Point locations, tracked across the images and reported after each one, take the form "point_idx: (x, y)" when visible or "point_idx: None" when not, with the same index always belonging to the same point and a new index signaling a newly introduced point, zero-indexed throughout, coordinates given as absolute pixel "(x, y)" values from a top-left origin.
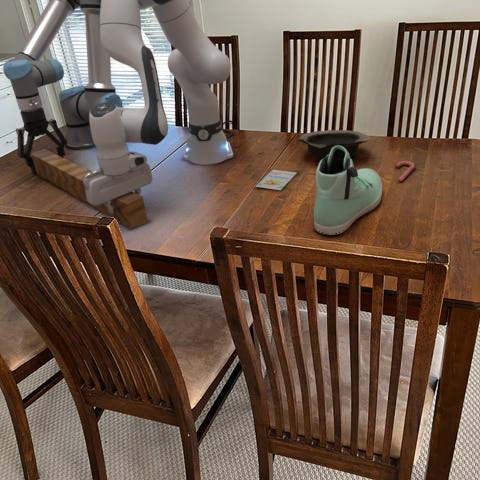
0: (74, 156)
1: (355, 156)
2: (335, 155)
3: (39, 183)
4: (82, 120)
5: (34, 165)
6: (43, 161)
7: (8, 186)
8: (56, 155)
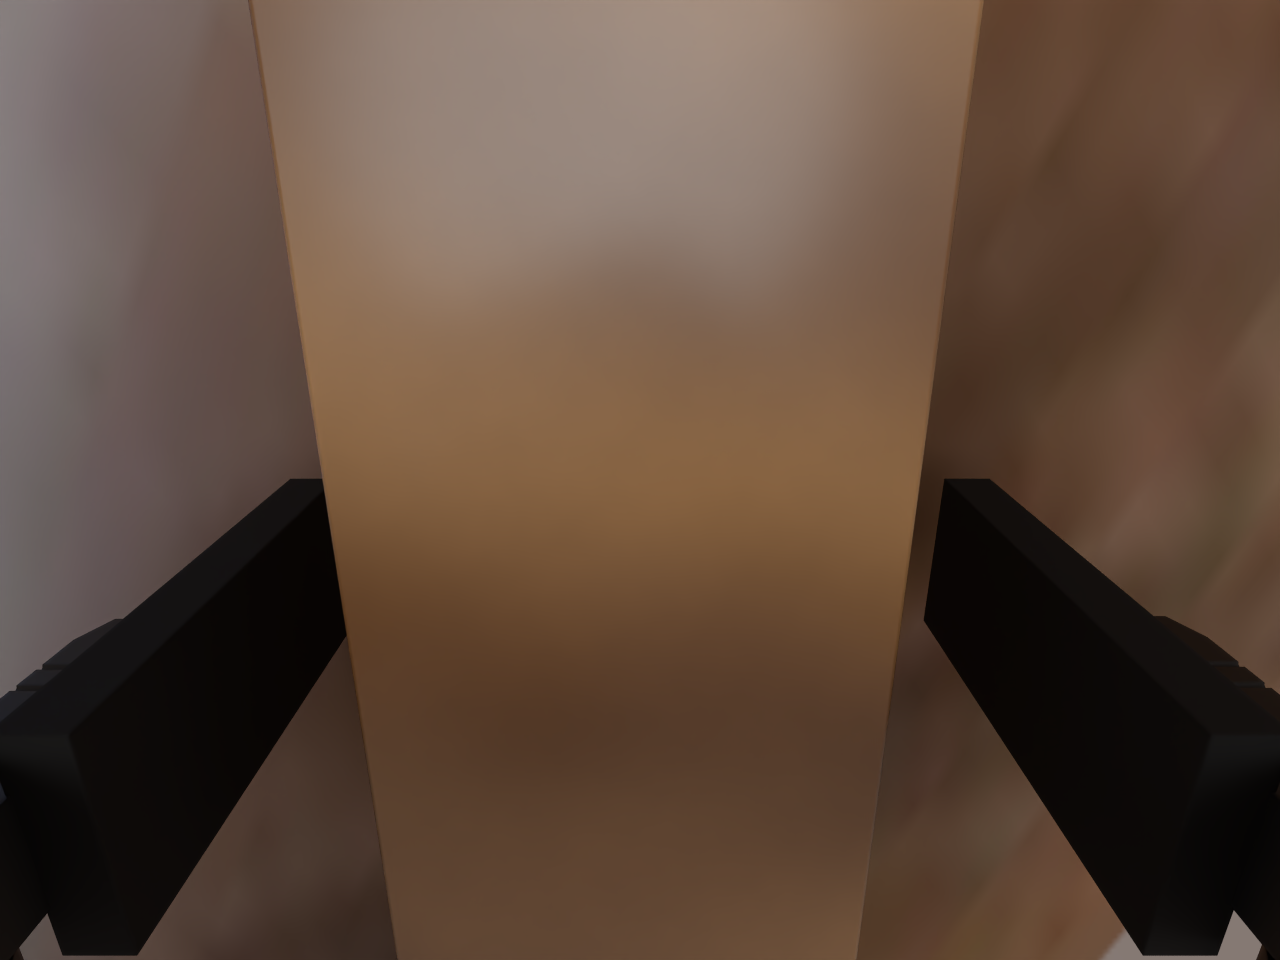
0: None
1: None
2: None
3: (940, 360)
4: None
5: (1051, 582)
6: (917, 389)
7: (1276, 666)
8: (361, 438)
